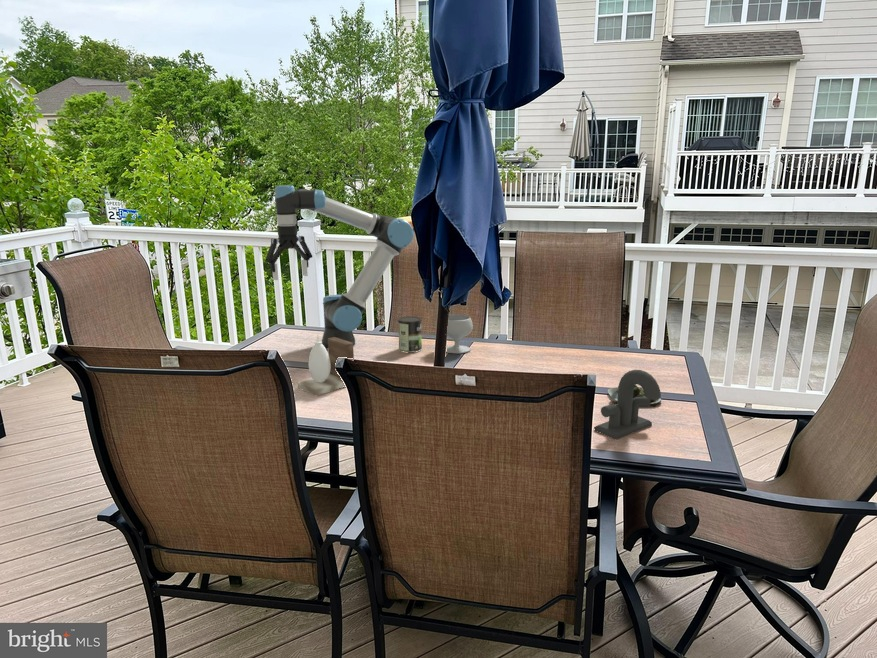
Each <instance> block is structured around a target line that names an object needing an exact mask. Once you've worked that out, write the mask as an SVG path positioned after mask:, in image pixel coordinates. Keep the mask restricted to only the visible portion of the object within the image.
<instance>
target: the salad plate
mask: <svg viewBox="0 0 877 658" xmlns="http://www.w3.org/2000/svg"><path fill="white" fill-rule="evenodd" d="M618 388H619V385H617V386H615V387H611V388H608V390H607V393H608V395H609V400H610V401H611V402H614V403H615V404H617V401H618ZM635 397H646V396H645V392H644V390H643V388H642V387H641V386H638V385H637V384H636V385H635V386H634V390H633V398H635ZM650 402H651V404H650V407H649V408H653V407H657V406H658V405H660V404H661V402H662V397H661V398H660V399H658V400H651V399H650Z"/></svg>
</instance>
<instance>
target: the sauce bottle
mask: <svg viewBox="0 0 877 658" xmlns="http://www.w3.org/2000/svg"><path fill="white" fill-rule="evenodd" d="M316 339H317V341H315V342H314V345H313V346H312V348H311V350H310V353H309V356H308V370H309V374H310V377H311V379H312V378H313V379H314V380H316V382H318V383H322V382H324V381H325V380H326V379H327V378H328V377H329V374H330V370H331V363H330V358H329V354H328V349H327V348H325V347H324V345H323V344H322V340H320V337H319V335H317V338H316Z"/></svg>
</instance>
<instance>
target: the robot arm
mask: <svg viewBox="0 0 877 658" xmlns="http://www.w3.org/2000/svg"><path fill="white" fill-rule="evenodd" d="M274 192H275V194H274V195H275V196H274V199H275V209H276V211H275V212H276V223H277V225H278V226H277V228H276V229H277V237H278V238H270V246H269V248H268V252H267V255H266V257H265V259H264V261H265V263H266V264H267V263H268V264H269V267H270V268H269V269H270V272H271V273H272V281H279V275H278V274H279V273H278V263H276V262H277V261H278V259H279V257H280V256H281V255H282V253H283V252H284V251H285V250H288V249H294V250H295V251H296V252H297V253H298V254H299V256H300V257H301V258H302V259H301V270H302V271H301V272H302V276H304V277H308V268H309V261H310V259H312V258H313V255H312V253H311V251H310V248H309V247H308V245H307V243H306V240H305V236H303V235H298V226H297V223H298V222H297V214H296V213H297V211H296V210H298V211H300V210H309V211H312V212H314V213H317V214H320V215H323V216H324V217H328V218H331V219H333V220H336V221H339V222H340V223H341V222H342V223H344V224H347V225H350V226H352V227H355V228H358V229H361V230H363V231H366V234H368V235H370V236H373V237H375V238H376V246H375V248H374V249H373V251H372V253H371V254H370V256H369V257H368V259H367V261H366V262H365V264H364V266H363V267H362V269H361V270H360V272H359V273H358V275H357V277H356V279H355V281H354V282H353V283H352V285H350V286H351V287H350V288H349V289H348V291H347V292H345V293H342V294H329V295H326V296H325V295H324V297H323V298H322V299H323V301H322V306H323V321H324V322H323V323H324V324H323V325H324V330H323V334H322V339H321V342H322V344H323V345H324V347H325V348H326V349H328V338H331V337H336V338H339V339H342V340H345V341H348V342H351V343H353V347H354V346H355V345H356V338H355V335H354V333H353V331H355V330H357V329H358V327H360V325H361V323H362V321H363V316H362V315H363V313H364V312H365V311H366V308H367V307H366V302H367V300H368V299H369V297H370V295H371V294H372V292H373V291H374V289H375V288H376V286H377V284H378V282H379V281H380V280H381V278H382V277H383V275H384V273H385V271H386V269H387V268H388V267H389V265H390V264H391V262H392V261H393V259H394V257H395V256H398V255H400V254H401V252H402V251H403V249H404V248H406V247H408V246H409V245H410V244H411V243H412V242H413V240H414V236H415V235H414V234H415V233H414V229H413V227H412V225H411V223H410V222H409V221H407V220H405V219H403V218H399V217H393V216H386V215H382V214H378V213H376V212H374V213H369V212H367V211H364V210H362V209H359V208H357V207H354V206H351V205H349V204H346V203H343V202H340V201H337V200H336V199H332V198H331V197H327V196H326V193H325V191H324V190H322V189H306V188H300V189H297V190H296V189H295V186H294V185H276V186H275V188H274ZM298 242H299V244H298ZM278 243H279V245H278ZM277 245H278V246H277ZM300 246H301V247H302V248H301V247H300ZM276 248H277V249H276Z"/></svg>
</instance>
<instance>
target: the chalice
mask: <svg viewBox="0 0 877 658" xmlns="http://www.w3.org/2000/svg"><path fill="white" fill-rule="evenodd" d="M448 315H449V318H448V326H447V335H446V336H447V337H449V338H451V339H452V340H453V341H454V345H453V344H451V345H447V346H446V347H447V352H446V353H448V354H456V355H457V354H466V353H469V352H471V348H470V347H469V346H467V345H460V340H462V338H465V337H466V336H468V335H469V334H471V333H472V331H473V328H474V326H473V324H474V323H473V321H472V318H471V316H469V315H467V314H463V313H462V314H461V313H452V314H448Z"/></svg>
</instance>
